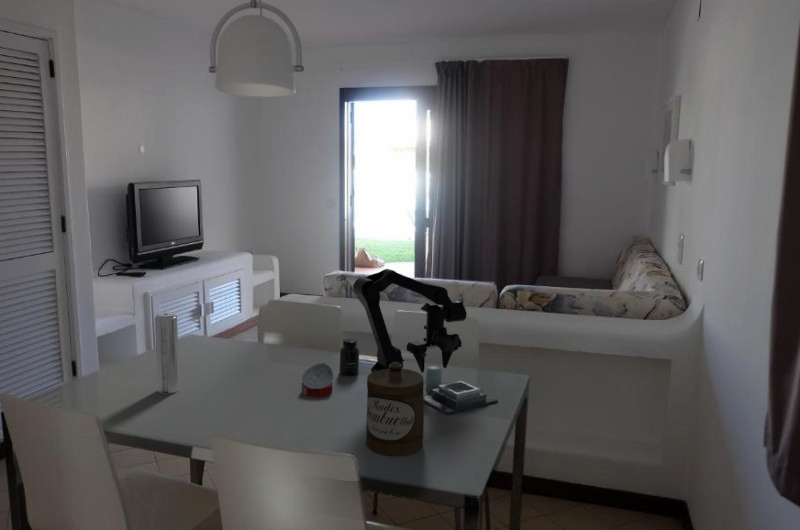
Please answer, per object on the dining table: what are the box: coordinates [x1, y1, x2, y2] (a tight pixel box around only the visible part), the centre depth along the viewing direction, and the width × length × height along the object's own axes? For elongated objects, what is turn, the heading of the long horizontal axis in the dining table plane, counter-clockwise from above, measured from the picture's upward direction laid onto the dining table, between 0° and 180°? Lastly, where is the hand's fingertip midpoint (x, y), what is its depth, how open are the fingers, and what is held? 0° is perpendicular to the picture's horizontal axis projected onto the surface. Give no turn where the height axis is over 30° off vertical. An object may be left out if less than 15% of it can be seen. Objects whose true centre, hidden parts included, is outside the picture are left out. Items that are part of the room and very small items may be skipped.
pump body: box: [425, 365, 443, 392], centre depth 201 cm, size 5×5×7 cm
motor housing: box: [423, 380, 499, 416], centre depth 190 cm, size 20×14×4 cm
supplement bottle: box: [338, 338, 360, 377], centre depth 214 cm, size 7×7×12 cm
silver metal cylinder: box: [154, 312, 180, 395], centre depth 193 cm, size 6×6×25 cm
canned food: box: [301, 363, 334, 398], centre depth 196 cm, size 11×10×10 cm
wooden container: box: [365, 362, 425, 457], centre depth 158 cm, size 15×15×22 cm
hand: (433, 370), depth 200 cm, fingers open, 9 cm apart
